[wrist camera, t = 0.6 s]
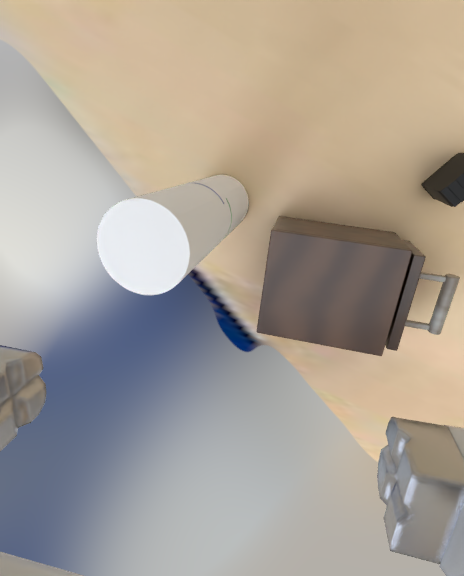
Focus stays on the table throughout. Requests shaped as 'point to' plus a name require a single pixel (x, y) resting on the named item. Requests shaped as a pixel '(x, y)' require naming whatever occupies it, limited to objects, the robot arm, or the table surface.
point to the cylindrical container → (168, 232)
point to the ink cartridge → (448, 182)
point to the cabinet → (332, 284)
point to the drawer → (408, 294)
